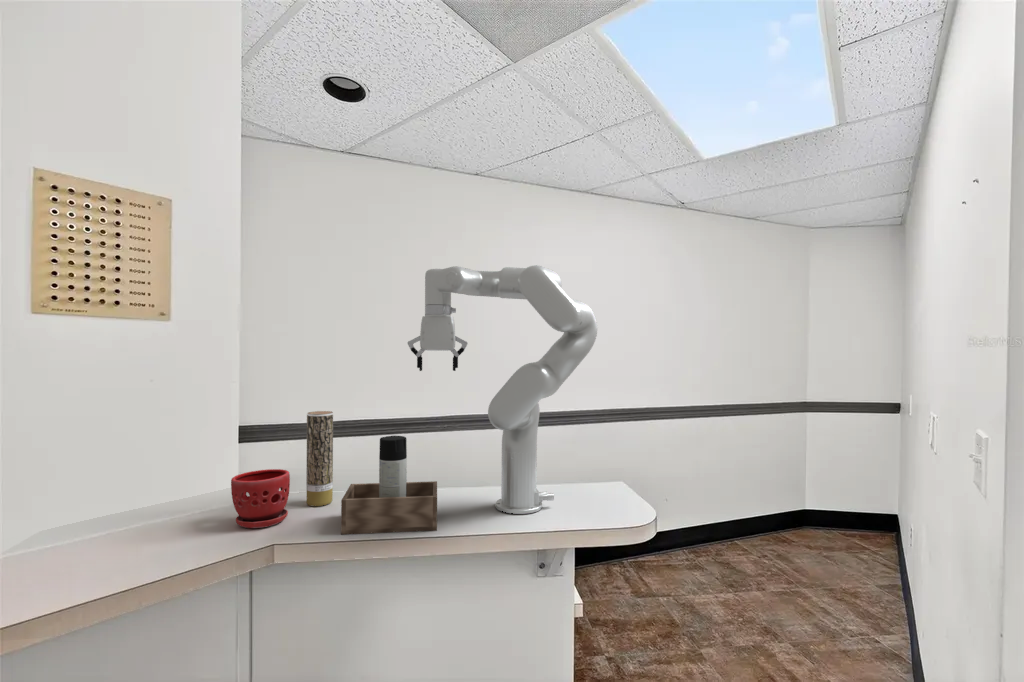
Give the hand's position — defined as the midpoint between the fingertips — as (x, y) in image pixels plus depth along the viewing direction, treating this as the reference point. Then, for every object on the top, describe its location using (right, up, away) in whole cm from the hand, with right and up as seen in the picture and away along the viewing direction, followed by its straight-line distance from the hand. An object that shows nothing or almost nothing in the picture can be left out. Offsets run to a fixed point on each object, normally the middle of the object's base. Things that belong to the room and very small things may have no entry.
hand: (437, 370), depth 155 cm
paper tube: (-31, -36, -8) cm, 49 cm away
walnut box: (-8, -36, -23) cm, 44 cm away
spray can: (-8, -36, -23) cm, 43 cm away
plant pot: (-40, -36, -24) cm, 59 cm away
